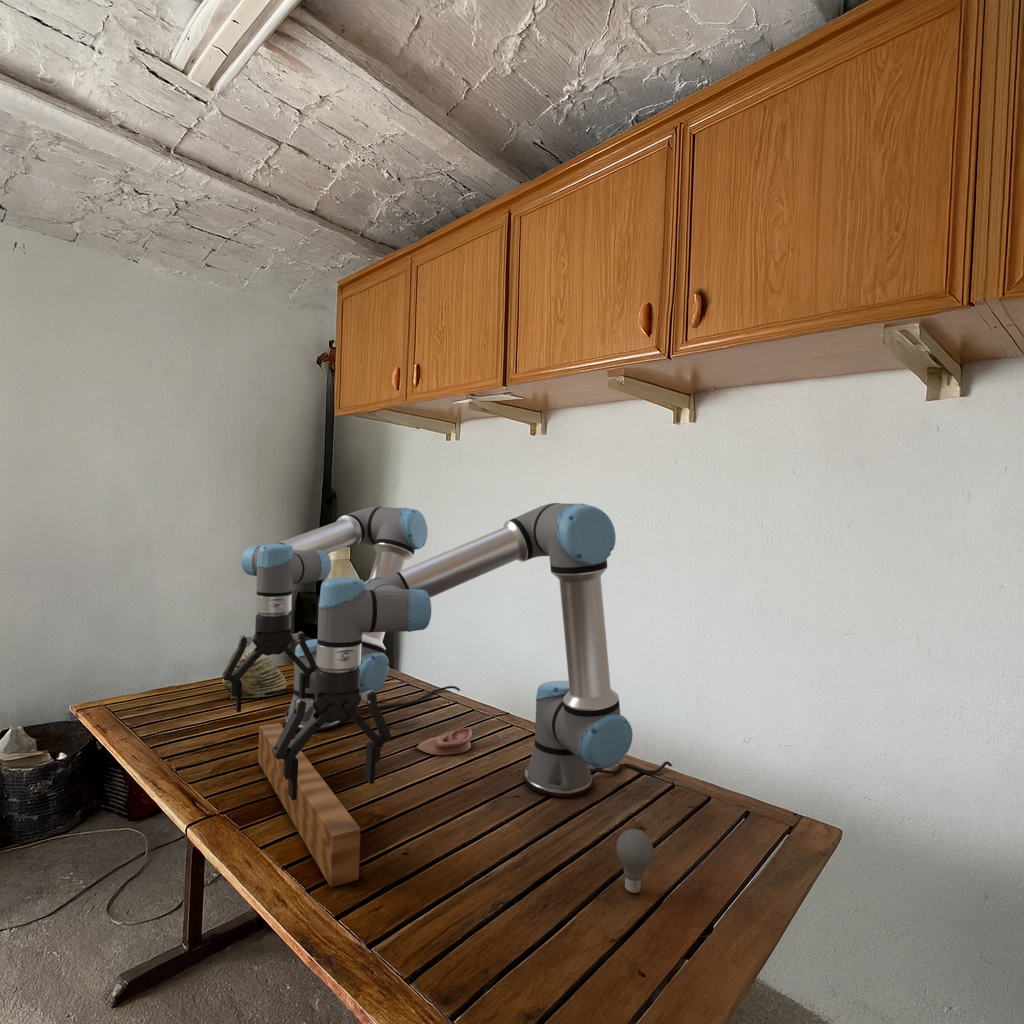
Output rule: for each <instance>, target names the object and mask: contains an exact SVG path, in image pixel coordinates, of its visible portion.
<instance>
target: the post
mask: <svg viewBox="0 0 1024 1024" xmlns="http://www.w3.org/2000/svg"><path fill="white" fill-rule="evenodd" d="M283 729H284V727H283V725H282V724H281V723H280V722H279V723H272V724H267V725H266V724H265V725H259V728H258V750H257V751H258V754H257V763H258V764H259V766H260V768H261V769H262V771H263V773H264V775H265V776H266V778H267V780H268V782H269V784H270V785H271V787H272V789H273V791H274V792H275V794H276V796H277V797H278V799H279V801H280V802H281V804H282V806H283V808H284V809H285V811H286V813H287V815H288V816H289V819H290V820H291V821H292V823H293V825H294V827H295V829H296V830H297V833H298V834H299V835H300V837H301V839H302V841H303V842H304V845H305V846H306V848H307V849H308V851H309V853H310V855H311V856H312V858H313V860H314V862H315V863H316V865H317V867H318V868H319V870H320V872H321V873H322V875H323V877H324V879H325V880H326V883H327V884H328V885H329V887H330V888H334V887H339V886H341V885H345V884H347V883H351V882H354V881H358V880H360V879H359V878H360V855H361V853H360V850H361V827H360V826H359V825H358V823H357V822H356V821H355V819H354V818H353V817H352V816H351V814H350V813H349V812H348V810H347V809H346V807H345V806H344V805H343V803H342V802H341V801H340V800H339V799H338V797H337V796H336V795H335V793H334V792H333V791H332V789H331V788H330V786H329V785H328V784H327V783H326V782H325V780H324V779H323V777H322V776H321V775H320V774H319V772H318V771H317V770H316V768H315V767H314V766H313V765H312V763H311V762H310V761H309V759H308V757H307V756H306V755H305V754H304V752H303V751H302V750H301V751H300V752H299V753H298V754H297V756H296V758H297V759H298V781H297V799H296V800H291V798H290V796H289V795H288V781H289V779H288V780H286V779H285V777H284V775H283V763H284V760H283V759H276V757H275V756H274V754H273V752H272V750H273V748H274V746H275V744H276V743H277V741H278V739H279V737H280V735H281V733H282V731H283ZM292 741H293V739H292V740H291V742H292ZM291 742H290V743H291Z"/></svg>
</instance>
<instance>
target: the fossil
mask: <svg viewBox="0 0 1024 1024" xmlns="http://www.w3.org/2000/svg"><path fill="white" fill-rule="evenodd" d="M254 649H255V648H251V647H246V649H245V651H244V653H243V655H242V657H241V658H240V660H239V662H238V664H237V666H236V668H235V669H234V671H233V673H232V674H234V673H235V672H236V670H237V669H238V668H239V667H240V666H241V665H242V664H243V662H244V661H245V660H246V659H247V658H248V657H249V656H250V654H251V653H252V651H253V650H254ZM235 651H236V649H235V650H233V651H232V653H231V656H230V657H229V659H228V660H227V663H226V666H225V668H224V670H225V669H226V667H227V666H228V664H229V662H230V660H231V658H232V656H233V655H234V653H235ZM240 680H241V682H242V696H241V699H250V698H264V697H271V696H275V695H281V694H284V693H285V691H286V689H287V687H288V686H287V680H286V678H285V676H284V674H283V673H282V672H281V669H279V668H278V667H277V665H276V663H275V662H274V660H273V659H272V658H271V657H270V655H267V656H266V655H264V654H262V655H261V656H260V657H259V658H258V659H257V660H256V661H255V662H254V663H253V665H252V666H251V667H250V668H249V669H248V670H247V671H246V673H245V674H244V675H243V676H242V677H241V678H240ZM222 685H223V687H224V688H225V690H226V691H228V693H229V698H230V699H236V697H233V696H232V694H231V681H225V680H224V679H223V678H222Z"/></svg>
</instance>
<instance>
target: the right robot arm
mask: <svg viewBox="0 0 1024 1024" xmlns="http://www.w3.org/2000/svg"><path fill="white" fill-rule="evenodd" d="M615 529H616V528H615V526H614V523H613V521H612V519H611V517H610V516H609V515H608V514H607V513H605V511H603V510H602V509H600V508H599V507H597V506H594V505H589V504H587V503H586V504H585V503H562V502H561V503H560V502H552V503H547V504H544V505H540V506H538V507H536V508H533V509H531V510H529V511H527V512H525V513H522V514H520V515H518V516H515V517H514V518H511V519H508V520H506V521H505V522H504V524H503V527H502V528H499V529H496V530H494V531H492V532H489V533H487V534H484V535H483V536H480V537H478V538H475V539H473V540H470V541H468V542H466V543H463V544H461V545H459V546H456V547H454V548H451V549H449V550H447V551H444V552H442V553H440V554H437V555H434V556H433V557H430V558H427V559H425V560H423V561H420V562H418V563H416V564H412V565H411V566H409V567H406V568H404V569H403V570H401V571H399V572H397V573H394V574H391V575H389V576H386V577H384V578H380V577H379V578H372V579H369V578H368V579H367V580H366V581H364V580H363V579H361V578H357V577H345V576H344V577H343V576H342V577H341V576H340V577H339V576H338V577H329V578H325V579H324V580H323V581H322V582H321V585H320V592H319V600H318V604H317V606H318V613H317V614H318V615H317V617H318V618H317V638H316V639H317V655H316V665H317V666H318V667H319V668H317V670H316V675H315V694H314V697H313V698H312V699H302V698H300V697H298V698H296V699H295V704H294V710H293V712H292V714H291V716H290V718H289V720H288V722H287V724H286V723H285V726H284V727H283V728H284V729H283V731H282V733H281V735H280V737H279V739H278V741H277V743H276V744H275V746H274V748H273V750H272V752H273V754H274V756H275V757H276V759H283V760H284V763H283V775H284V777H285V779H286V780H288V779H289V781H288V795H289V796H290V798H291V800H296V799H297V781H298V759H297V758H296V756H297V754H298V753H299V752H300V751H302V750H303V748H304V747H305V746H306V744H307V743H308V742H309V741H310V739H311V738H312V737H313V735H314V734H315V733H316V731H317V729H318V728H320V727H321V726H322V725H323V724H324V723H325V722H328V723H334V722H336V721H343V722H347V720H348V719H349V718H351V719H352V721H353V722H354V723H355V724H356V725H357V726H358V727H359V729H361V730H362V732H363V733H364V734H365V735H366V736H367V737H368V739H370V741H369V742H366V748H365V749H366V750H365V765H364V766H365V767H364V768H365V769H364V779H365V780H366V781H367V783H368V784H369V785H373V784H375V779H376V778H375V776H376V764H377V763H380V761H381V750H382V749H381V748H382V747H383V746H384V744H385V743H384V742H389V741H390V740H392V737H393V736H392V734H391V731H390V729H389V727H388V725H387V723H386V720H385V719H384V716H383V714H382V711H381V708H380V709H379V707H378V706H379V705H378V695H377V692H376V693H375V692H374V691H372V690H371V689H367V690H366V691H365V692H363V693H359V686H360V669H359V668H358V666H359V665H360V664H361V645H362V633H365V632H367V633H371V632H385V633H397V632H398V633H399V632H402V633H403V632H407V633H411V632H417V631H424V630H426V629H427V628H428V627H429V625H430V622H431V619H432V600H431V598H433V597H435V596H438V595H440V594H442V593H444V592H447V591H450V590H451V589H455V588H456V587H459V586H461V585H462V584H466V583H467V582H469V581H472V580H474V579H476V578H479V577H481V576H483V575H485V574H488V573H490V572H492V571H495V570H497V569H499V568H501V567H504V566H506V565H509V564H511V563H513V562H514V561H515V562H516V561H518V562H520V563H524V562H527V561H529V560H531V559H535V558H541V557H549V567H550V572H551V574H552V575H553V576H554V577H555V578H557V579H558V584H559V594H560V602H561V603H560V606H561V613H562V614H561V615H562V627H563V633H564V634H563V636H564V647H565V657H566V667H567V668H566V669H567V679H568V680H552V681H545V682H542V683H541V684H540V685H538V687H537V690H536V697H535V702H536V704H535V722H534V723H535V724H534V728H535V729H534V747H533V750H532V753H531V755H530V759H529V763H528V765H527V767H526V768H525V771H524V782H525V784H526V786H527V787H528V788H529V789H531V790H532V791H534V792H536V793H538V794H541V795H543V796H548V797H553V798H575V797H579V796H582V795H584V794H587V793H588V792H589V791H590V790H591V789H592V785H593V782H592V781H593V776H592V773H600V774H609V775H615V774H618V773H619V771H620V769H621V768H623V767H627V768H631V769H635V770H637V771H640V772H642V773H646V774H658V773H660V772H662V771H663V769H664V768H665V767H666V766H669V767H673V763H671V762H670V761H667V760H666V761H664V762H663V763H662V764H661V765H660V766H659V767H658V768H657V769H653V770H652V769H651V770H650V769H645V768H642V767H640V766H637V765H635V764H631V763H627V762H626V763H625V762H624V763H620V762H621V761H622V760H623V759H624V757H625V755H626V754H627V753H628V752H629V751H630V748H631V746H632V742H633V734H634V733H633V728H632V726H631V723H630V721H629V720H628V719H627V718H626V717H625V716H624V715H622V714H621V705H620V697H619V693H617V692H616V691H615V690H613V688H612V687H611V677H610V664H609V653H608V641H607V632H606V631H607V630H606V621H605V620H606V619H605V608H604V596H603V586H602V576H603V574H604V573H605V571H606V570H607V569H608V558H610V556H611V554H612V551H613V550H614V548H615V546H616V539H617V538H616V537H617V535H616V530H615ZM361 701H362V702H363V703H364V704H365V705H366V706H367V708H368V709H369V710H368V711H369V713H370V715H371V717H372V719H373V721H374V724H375V726H376V728H377V730H378V733H376V731H374V730H373V728H372V727H371V726H370V725H369V724H368V723H367V722H366V721H365V719H364V718H363V717H362V716H361V714H360V713H358V712H359V711H356V710H355V709H356V708H358V706H359V705H360V703H361ZM310 707H313V708H314V709H315V712H314V713H313V714H312V715H311V717H310V719H309V721H308V722H307V723H306V725H305V726H304V727H303V728H302V729H301V731H297V729H298V727H299V725H300V723H301V721H302V719H303V717H304V713H306V712H308V710H309V708H310ZM296 733H297V734H296ZM294 736H295V737H294ZM291 740H293V741H292V742H291ZM290 742H291V743H290ZM619 763H620V764H619ZM617 764H618V765H617ZM615 765H617V766H616V769H614V770H608V769H609V768H611V767H614V766H615ZM590 766H591V767H592V768H590Z"/></svg>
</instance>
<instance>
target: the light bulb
mask: <svg viewBox="0 0 1024 1024" xmlns="http://www.w3.org/2000/svg"><path fill="white" fill-rule="evenodd" d="M615 849H616V854H617V857H618V859H619V861H620V863H621V865H622V867H623V873H624V874H623V875H624V876H625V878H624V888H625V890H627V891H628V892H630V893H634V894H635V893H639V892H640V891H641V889H642V887H641V886H642V879H643V877H644V875H645V871H646V868H647V867H648V866H649V864H650V863H651V861H652V859H653V855H654V847H653V843H652V841H651V838H649V836H648V835H647V834H646V833H645V832H643V831H642V830H641V829H636V828H629V829H627V830H625V831H623V832H622V833H621V834H620V835H619V837H618V839H617V841H616V847H615Z"/></svg>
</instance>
